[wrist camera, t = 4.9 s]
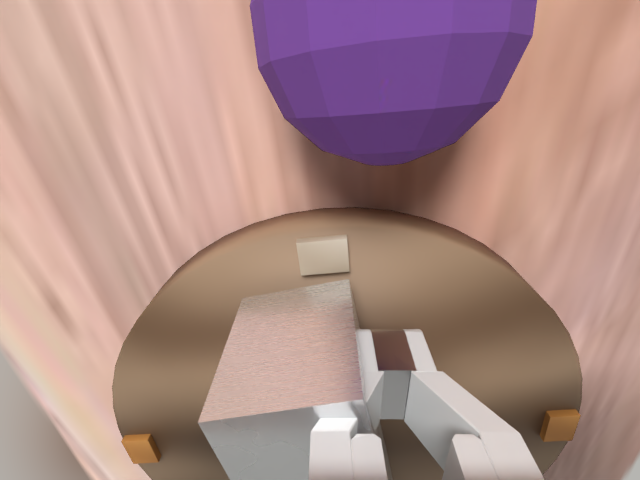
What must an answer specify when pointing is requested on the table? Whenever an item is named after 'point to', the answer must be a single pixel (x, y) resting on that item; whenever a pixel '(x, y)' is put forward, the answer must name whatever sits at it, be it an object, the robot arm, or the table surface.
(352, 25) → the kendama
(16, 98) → the table surface
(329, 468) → the robot arm
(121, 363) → the lock plate
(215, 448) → the bar
